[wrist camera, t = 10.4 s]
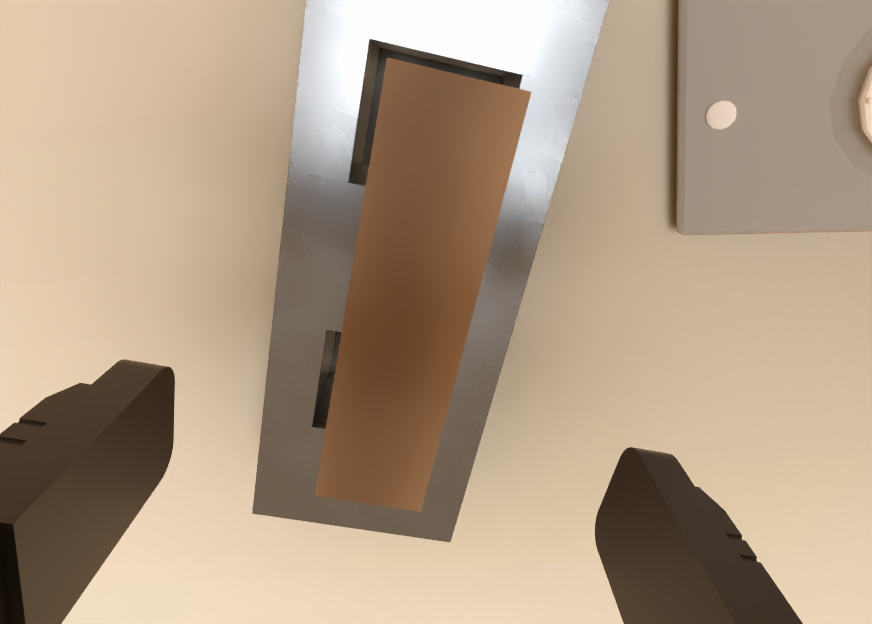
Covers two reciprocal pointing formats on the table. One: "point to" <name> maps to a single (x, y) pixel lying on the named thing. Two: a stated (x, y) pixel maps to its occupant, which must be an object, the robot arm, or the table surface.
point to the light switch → (774, 116)
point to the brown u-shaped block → (415, 277)
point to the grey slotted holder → (340, 217)
